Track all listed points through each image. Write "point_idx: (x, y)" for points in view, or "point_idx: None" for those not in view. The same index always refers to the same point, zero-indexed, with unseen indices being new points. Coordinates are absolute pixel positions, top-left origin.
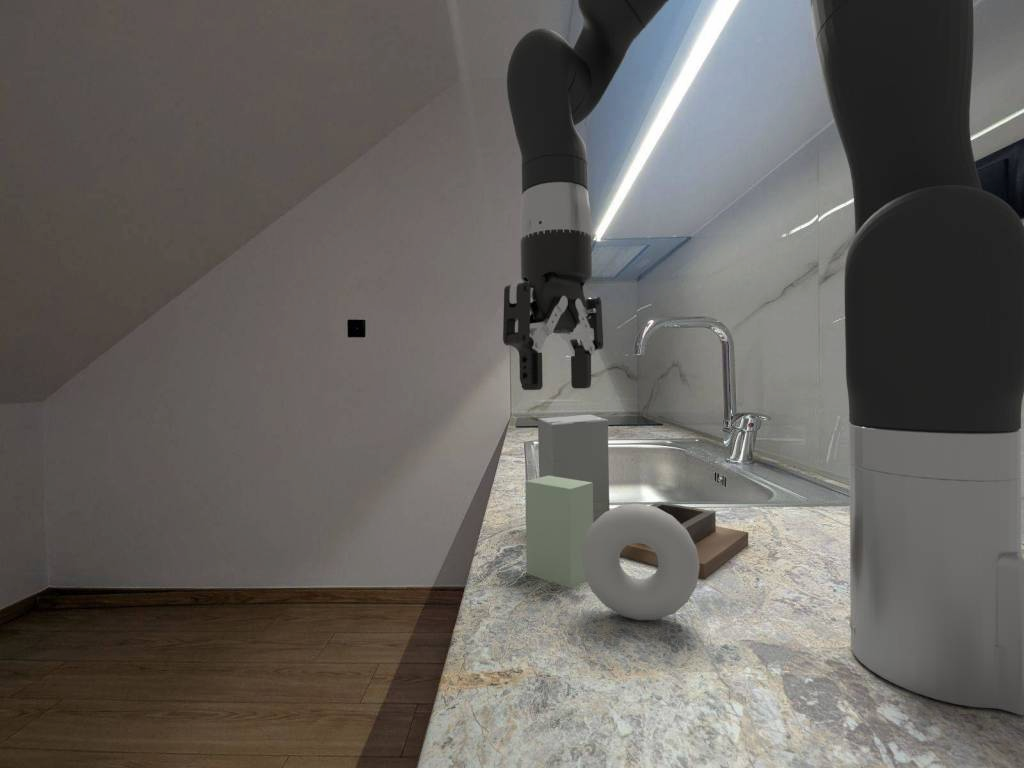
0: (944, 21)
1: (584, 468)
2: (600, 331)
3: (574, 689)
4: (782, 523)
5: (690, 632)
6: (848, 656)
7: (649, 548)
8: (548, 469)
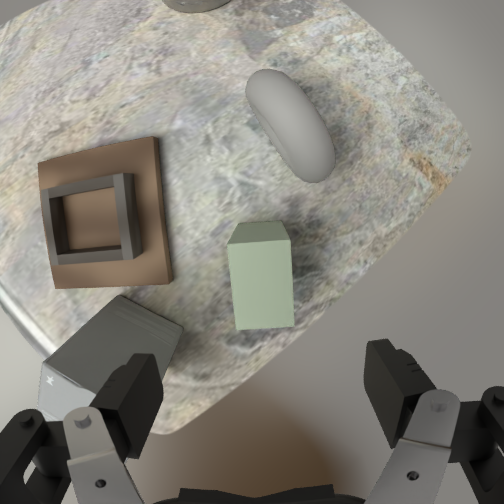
0: None
1: (119, 346)
2: (1, 449)
3: (399, 119)
4: None
5: None
6: (221, 9)
7: (152, 206)
8: None
